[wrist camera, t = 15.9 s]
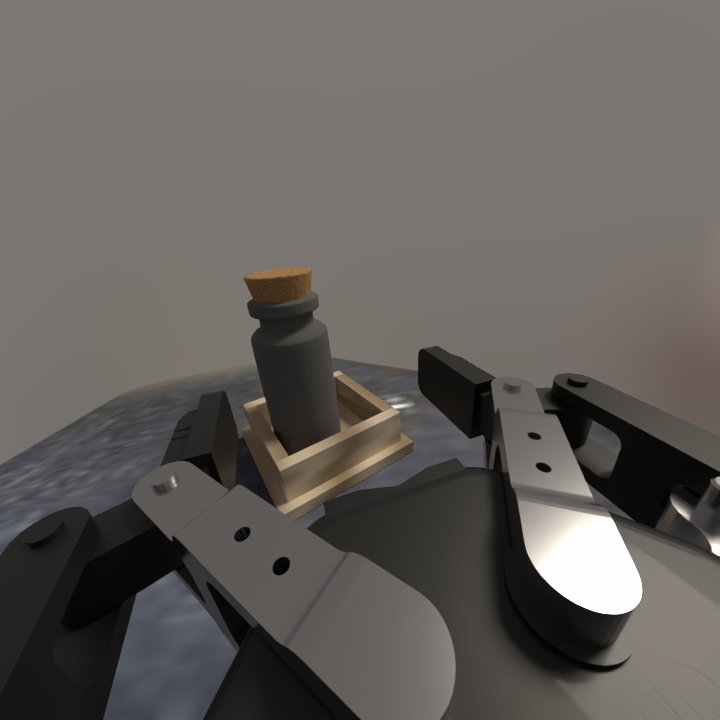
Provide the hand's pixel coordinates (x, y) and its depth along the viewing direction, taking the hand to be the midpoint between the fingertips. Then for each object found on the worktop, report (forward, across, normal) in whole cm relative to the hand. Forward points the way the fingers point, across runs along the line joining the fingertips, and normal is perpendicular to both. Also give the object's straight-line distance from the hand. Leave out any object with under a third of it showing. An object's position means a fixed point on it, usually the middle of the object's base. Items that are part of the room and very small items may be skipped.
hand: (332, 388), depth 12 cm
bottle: (+12, +1, +12) cm, 17 cm away
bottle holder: (+12, 0, +13) cm, 17 cm away
